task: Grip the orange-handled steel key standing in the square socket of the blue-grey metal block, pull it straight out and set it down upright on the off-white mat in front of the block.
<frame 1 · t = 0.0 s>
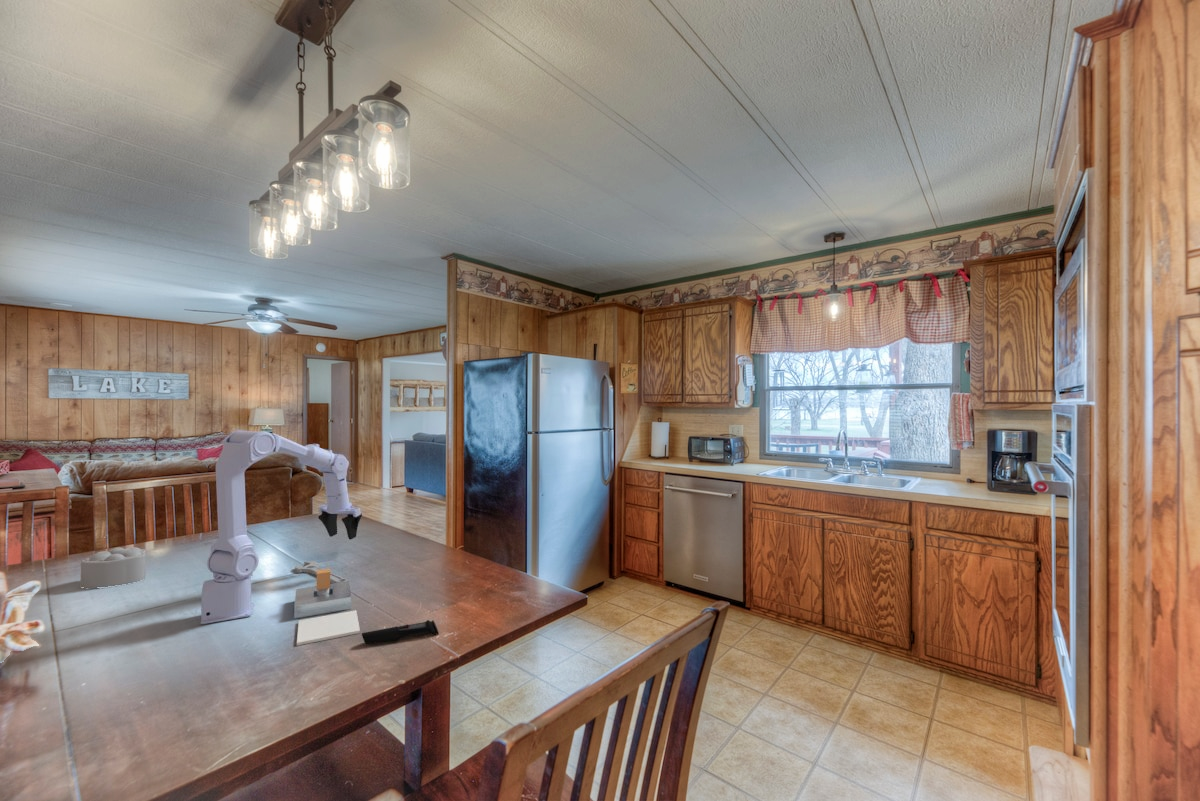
hand: (342, 536, 149), 11 cm above the table, tool pointing down, fingers open, 7 cm apart
key: (323, 587, 126), in the socket block
electric trimmer: (402, 640, 109), on the table
mat: (328, 628, 113), on the table
egg container: (114, 582, 140), on the table
socket block: (323, 604, 126), on the table
adjustable wrench: (318, 577, 146), on the table
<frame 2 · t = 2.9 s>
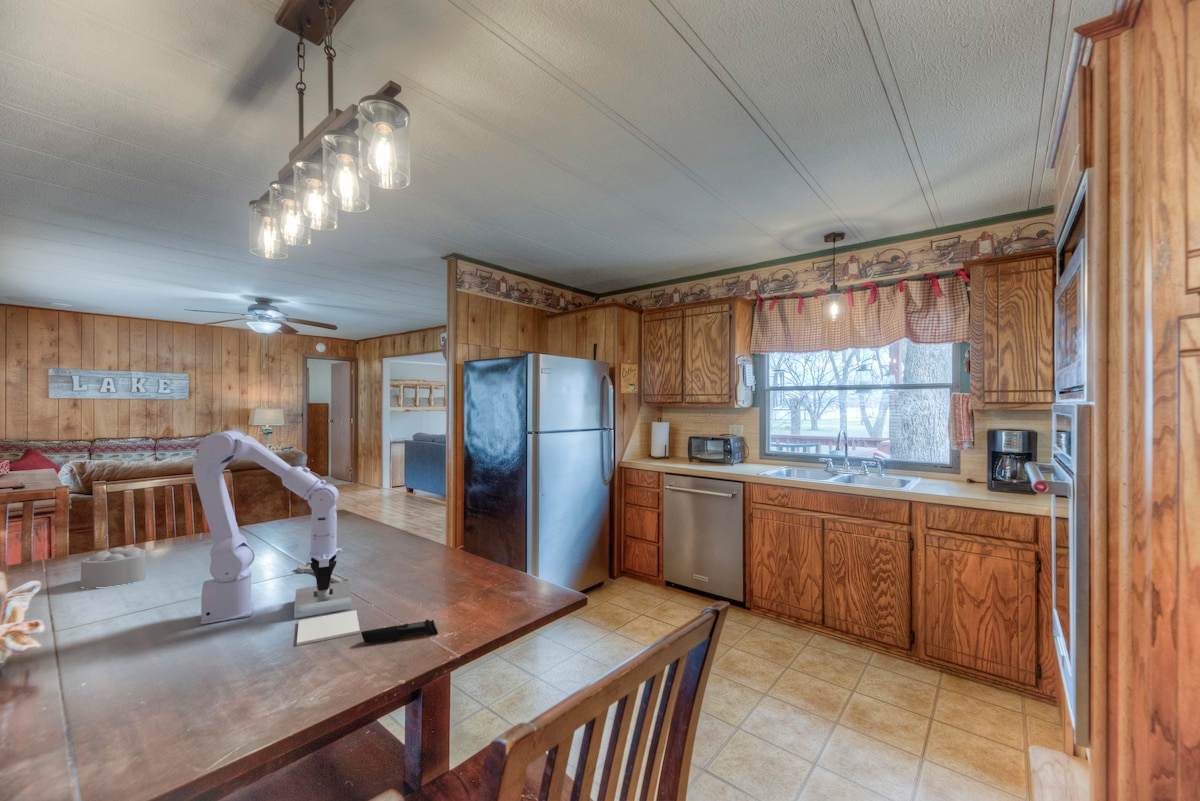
hand: (323, 587, 126), 4 cm above the table, tool pointing down, fingers closed on key, 3 cm apart
key: (323, 587, 126), in the socket block, touching gripper
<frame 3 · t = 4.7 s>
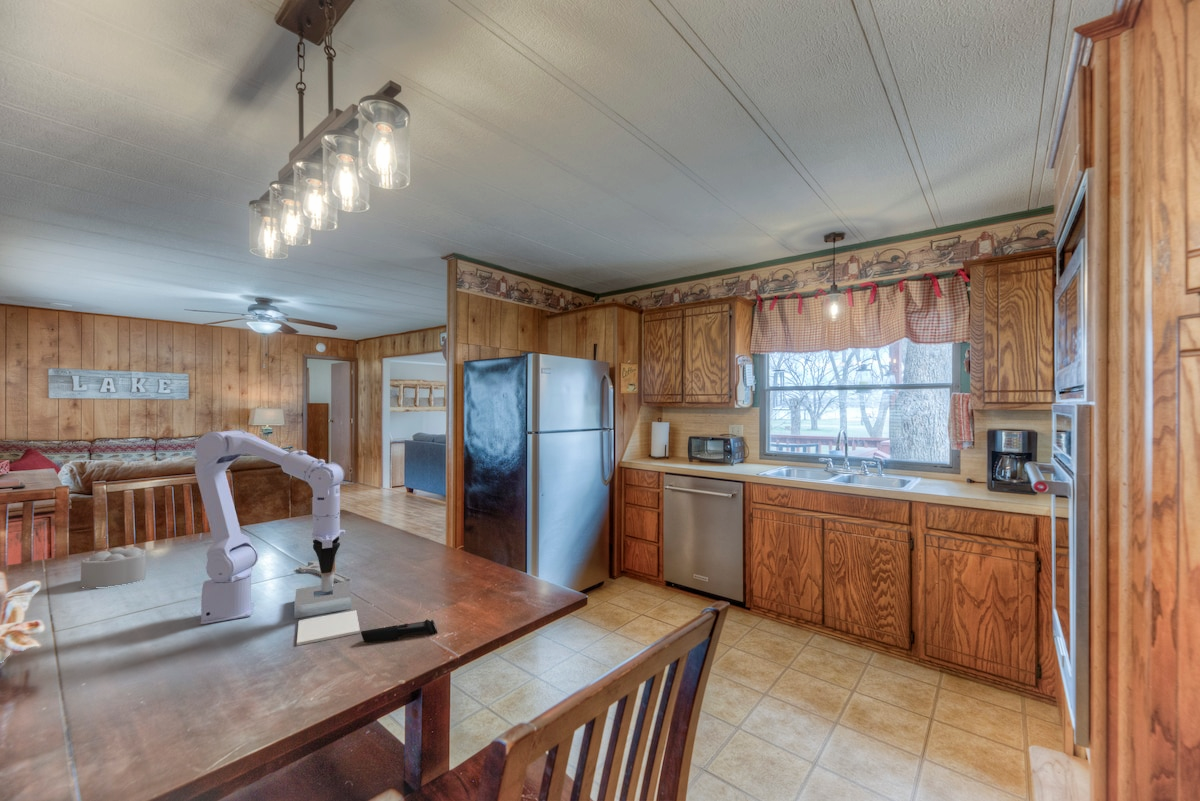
hand: (326, 570, 120), 10 cm above the table, tool pointing down, fingers closed on key, 3 cm apart
key: (327, 572, 121), point 10 cm above the table, touching gripper
when the fingers open (6 cm above the table, at t = 6.7 s): key stays where it is, resting on mat.
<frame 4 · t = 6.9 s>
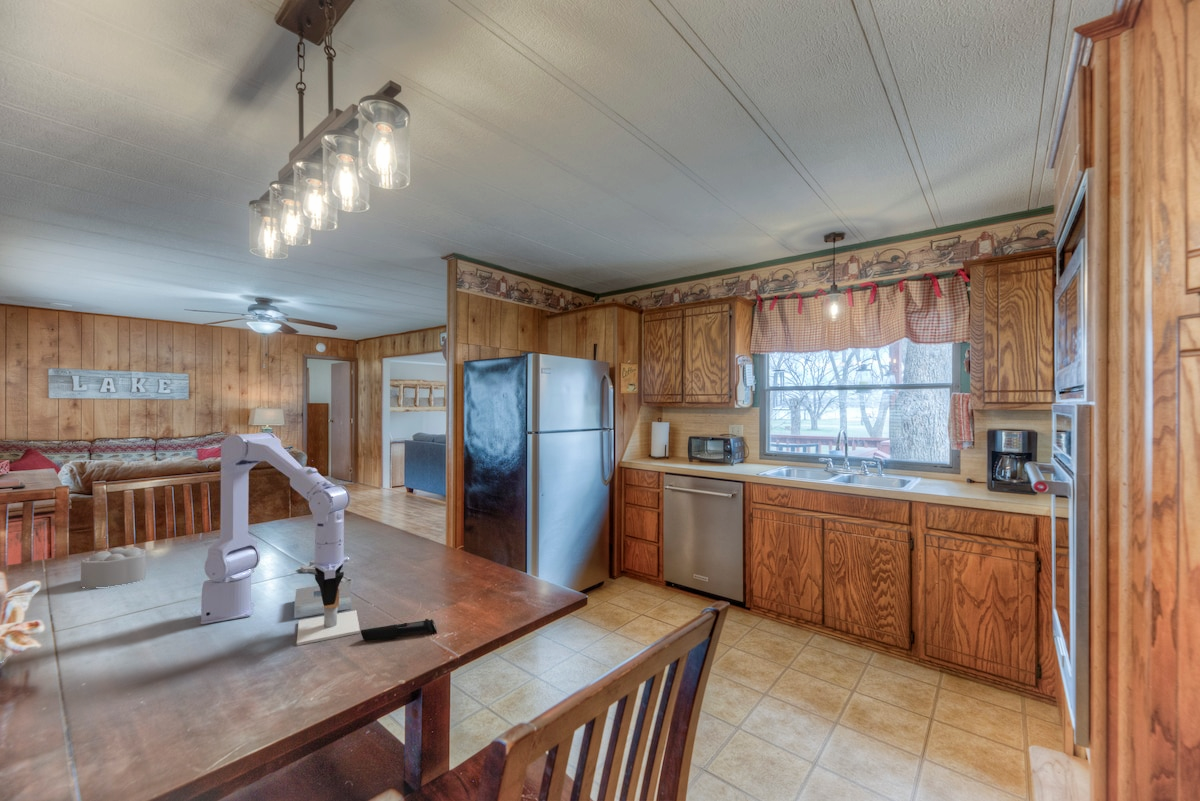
hand: (328, 600, 113), 6 cm above the table, tool pointing down, fingers open, 4 cm apart
key: (331, 606, 113), on the mat, point 5 cm above the table
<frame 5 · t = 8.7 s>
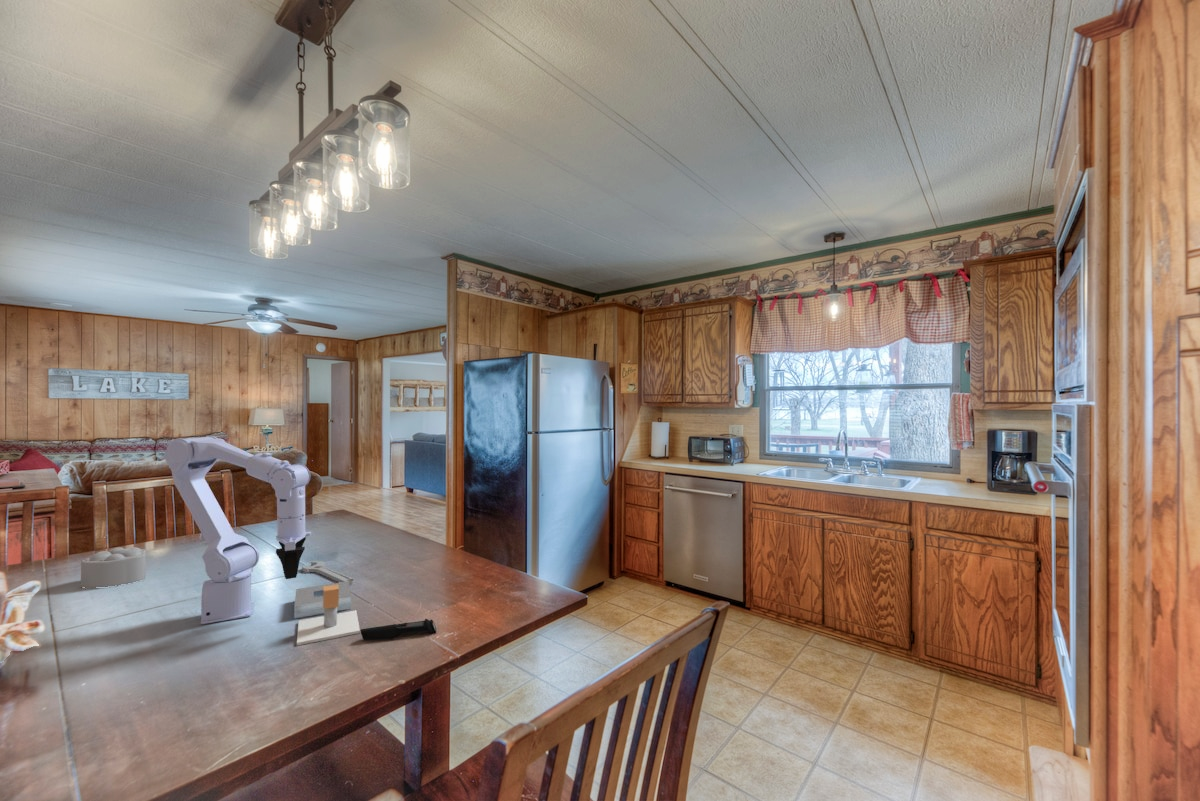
hand: (291, 573, 119), 10 cm above the table, tool pointing down, fingers open, 7 cm apart
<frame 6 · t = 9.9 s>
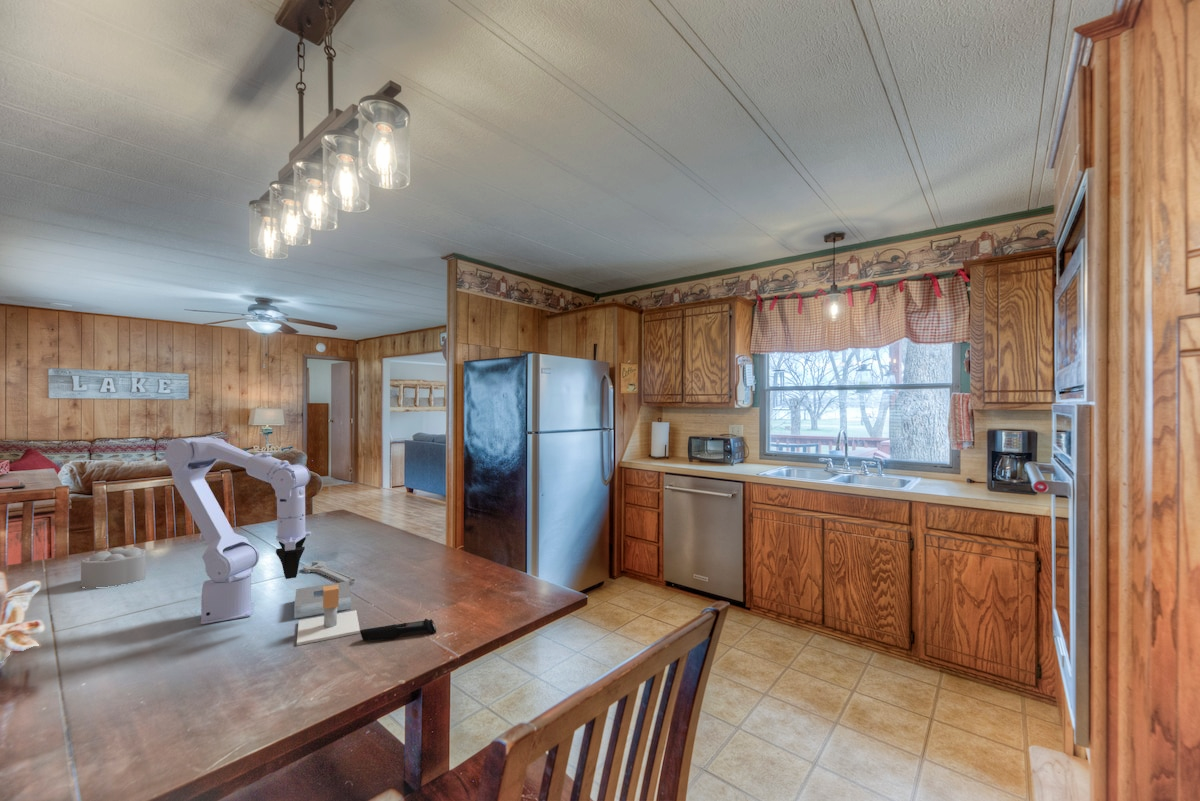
hand: (291, 573, 119), 10 cm above the table, tool pointing down, fingers open, 7 cm apart
at the end: key inside the target area on the mat (0.3 cm from its centre), point 4.9 cm above the mat's base; the gripper is holding nothing; key moved 15.1 cm from its start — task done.
